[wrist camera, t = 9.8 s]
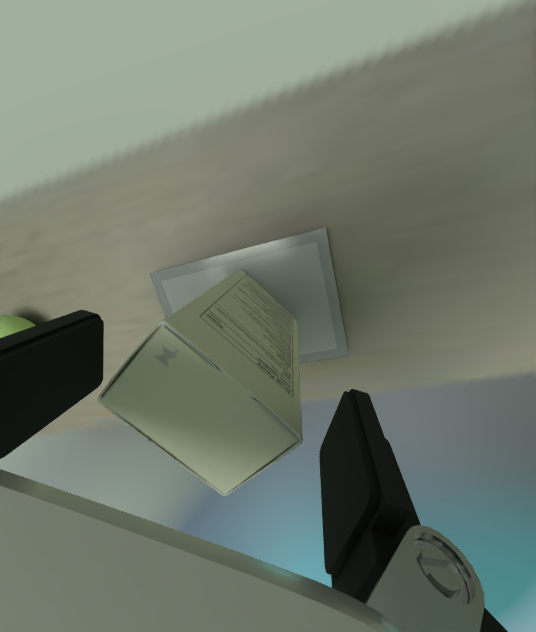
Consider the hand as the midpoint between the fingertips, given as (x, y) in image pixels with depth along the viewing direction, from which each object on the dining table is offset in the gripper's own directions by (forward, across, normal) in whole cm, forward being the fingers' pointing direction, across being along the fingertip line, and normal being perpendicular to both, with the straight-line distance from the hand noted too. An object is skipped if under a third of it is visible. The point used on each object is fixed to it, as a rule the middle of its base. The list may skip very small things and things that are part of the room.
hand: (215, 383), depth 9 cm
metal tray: (+12, +1, +1) cm, 12 cm away
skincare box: (+11, +1, +1) cm, 11 cm away
